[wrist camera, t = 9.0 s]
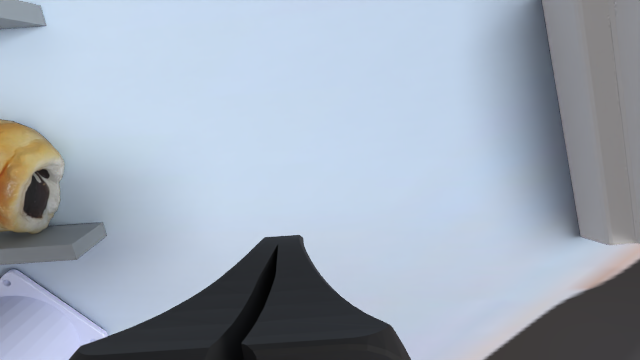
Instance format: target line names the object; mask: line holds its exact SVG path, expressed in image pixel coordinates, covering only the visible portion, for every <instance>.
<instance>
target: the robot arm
mask: <svg viewBox="0 0 640 360" xmlns="http://www.w3.org/2000/svg"><path fill="white" fill-rule="evenodd" d="M8 280H9V281H10V282H9V281H8ZM0 360H411V359H410V357H409V355H408V353H407V351H406V349H405V347H404V346H403V344H402V342H401V340H400V339H399V337H398V335H397V334H396V332H395V331H394V329H393V328H392V326H391V325H389V324H387V323H385V322H383V321H381V320H379V319H376V318H374V317H372V316H370V315H368V314H366V313H364V312H363V311H361V310H359V309H358V308H356V307H354V306H353V305H351V304H350V303H349V302H348V301H346V300H345V299H344V298H342V297H341V296H340V295H339V294H338V293H337V292H336V291H335V290H334V289H332V287H331V286H330V285H329V284H328V283H327V282H326V281H325V280H324V278H323V277H322V276H321V275H320V273H319V272H318V271H317V269H316V268H315V266H314V265H313V263H312V261H311V259H310V258H309V256H308V254H307V252H306V250H305V247H304V243H303V237H301V236H300V235H293V236H278V237H265V238H264V239H262V240H261V241H260V242H259V243H258V244H257V245H256V246H255V247H254V248H253V249H252V250H251V251H250V252H249V253H248V254H247V255H246V256H245V257H244V258H243V259H242V260H241V261H239V262H238V263H237V264H236V265H235V266H234V267H232V268H231V269H230V270H229V271H228V272H226V273H225V274H224V275H223V276H222V277H221V278H219V279H218V280H217V281H215V282H214V283H213V284H211V285H210V286H208V287H207V288H205V289H204V290H202V291H201V292H199V293H198V294H196V295H195V296H193V297H191V298H190V299H188V300H186V301H184V302H182V303H181V304H179V305H177V306H175V307H173V308H172V309H170V310H168V311H166V312H164V313H162V314H160V315H158V316H156V317H154V318H152V319H150V320H147V321H145V322H143V323H140V324H138V325H136V326H134V327H131V328H129V329H126V330H124V331H121V332H118V333H116V334H113V335H110V336H108V334H107V332H106V331H105V330H103V329H102V328H100V327H99V326H98V325H96V324H95V323H93V322H92V321H90V320H89V319H87V318H86V317H85V316H83V315H82V314H80V313H79V312H77V311H76V310H74V309H73V308H72V307H70V306H69V305H67V304H66V303H64V302H63V301H61V300H60V299H59V298H57V297H56V296H54V295H53V294H51V293H50V292H48V291H47V290H46V289H44V288H43V287H41V286H40V285H38V284H37V283H35V282H34V281H33V280H31V279H30V278H28V277H27V276H25V275H24V274H22V273H21V272H20V271H18V270H14V269H12V270H9V271H8V272H6V273H5V274H4V275H3V276H2V277H1V278H0Z"/></svg>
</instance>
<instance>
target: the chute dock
mask: <svg viewBox="0 0 640 360" xmlns="http://www.w3.org/2000/svg"><path fill="white" fill-rule="evenodd" d="M34 26H46V23H45V19H44V16H43V12H42V9H41V6H40V5H36V4H31V3H27V2H23V1H19V0H0V29H6V28H20V27H34ZM106 236H107V235H106V232H105V228H104V225H103V223H88V224H74V225H59V226H47V228H45V229H44V230H42V231H41V232H39V233H36V234H31V233H29V232H23V233H18V232H13V231H3V232H0V265H5V264H20V263H34V262H49V261H63V260H77V259H78V258H80V257H81V256H82V255H83V254H85V253H86V252H87V251H88V250H90V249H91V248H92V247H94V246H95V245H96V244H97V243H99V242H100V241H101V240H102V239H104V238H105V237H106Z"/></svg>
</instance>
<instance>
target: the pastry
mask: <svg viewBox="0 0 640 360" xmlns="http://www.w3.org/2000/svg"><path fill="white" fill-rule="evenodd" d="M64 167H65V164H64V161H63V159H62V157H61V155H60V154H59V152H58V151H57V150H56V149H55V148H54V147H53V146H52V145H51V144H50V143H49V142H48V141H47V140H46V139H45V138H44V137H43V136H42V135H41V134H40V133H38V132H37V131H35V130H34V129H32V128H29V127H27V126H24V125H21V124H18V123H16V122H14V121H7V120H1V119H0V232H3V231H13V232H18V233H23V232H29V233H31V234H36V233H39V232H41V231H42V230H44V229H45V228H47V226H48V224H49V222H50V220H51V218H52V217H53V216H54V212H56V211H57V210H58V206H59V203H60V187H59V181H60V180H61V179H62V177H63V172H64Z"/></svg>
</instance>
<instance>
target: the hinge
mask: <svg viewBox="0 0 640 360" xmlns="http://www.w3.org/2000/svg"><path fill="white" fill-rule="evenodd" d="M542 5H543V11H544V17H545V23H546V29H547V35H548V41H549V47H550V54H551V60H552V66H553V72H554V78H555V84H556V90H557V96H558V102H559V108H560V114H561V120H562V126H563V132H564V139H565V145H566V151H567V157H568V163H569V169H570V175H571V181H572V187H573V193H574V199H575V205H576V211H577V218H578V224H579V230H580V236H581V237H583V238H586V239H589V240H593V241H596V242H599V243H603V244H606V245H620V244H632V243H639V244H640V0H542Z"/></svg>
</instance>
